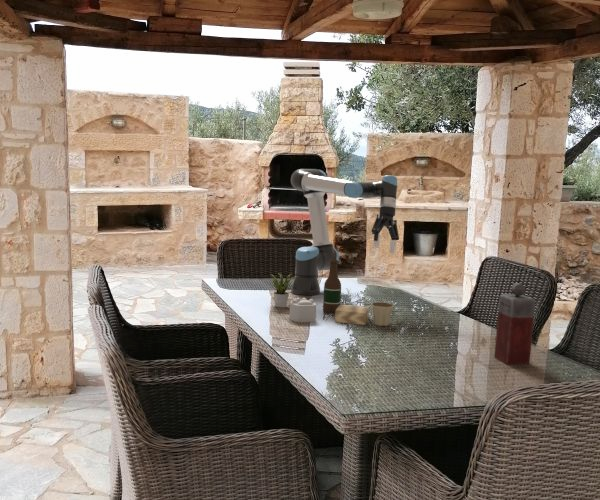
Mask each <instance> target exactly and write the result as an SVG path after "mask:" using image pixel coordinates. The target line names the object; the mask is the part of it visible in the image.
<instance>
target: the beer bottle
mask: <svg viewBox="0 0 600 500" xmlns="http://www.w3.org/2000/svg"><path fill="white" fill-rule="evenodd" d="M338 263H339V260H335V259H332V260H330V269H329V270H328V271H329V273H328V278H326V280H325V282H324V286H323V299H322V312H323V313H326V314H331V315H333V314H334V315H335V311H336V309H337V308H338V306H339V305H340V304H341V302H342V301H341V299H342V283H341V281H340V279H339V275H338V274H339V273H338V270H339V269H338Z"/></svg>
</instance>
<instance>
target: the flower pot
mask: <svg viewBox="0 0 600 500" xmlns="http://www.w3.org/2000/svg"><path fill="white" fill-rule="evenodd" d="M371 306H372V307H371V308H372V311H373V324H374V325H375V326H380V327H382V326H385V327H387V326H389V325H390V319H391V315H392V311H393V309H394V307H395V304H393V303H391V302H390V303H389V302H383V301H382V302H381V301H379V302H377V301H376V302H375V301H374V302H372V303H371Z"/></svg>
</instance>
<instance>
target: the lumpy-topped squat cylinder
mask: <svg viewBox="0 0 600 500" xmlns="http://www.w3.org/2000/svg"><path fill="white" fill-rule="evenodd" d="M316 315H317V304H316V302H315V301H314V299H313V298H310V299H307V298H306V297H301V298H300V297H296V298H293V299H292V300H291V301H290V302H289V319H290V320H291V321H293V322H295V323H314V322H316V319H317V316H316Z"/></svg>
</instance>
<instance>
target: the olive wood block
mask: <svg viewBox="0 0 600 500" xmlns="http://www.w3.org/2000/svg"><path fill="white" fill-rule="evenodd" d="M369 315H370V306H363V305H362V306H361V305H352V304H351V305H350V304H341V303H340V305H339V306H338V308H337V309H336V311H335V314H334V323H343V324H353V325H354V324H355V325H363V326H365V325H366V324H367V322H368V320H369V318H370V317H369Z"/></svg>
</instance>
